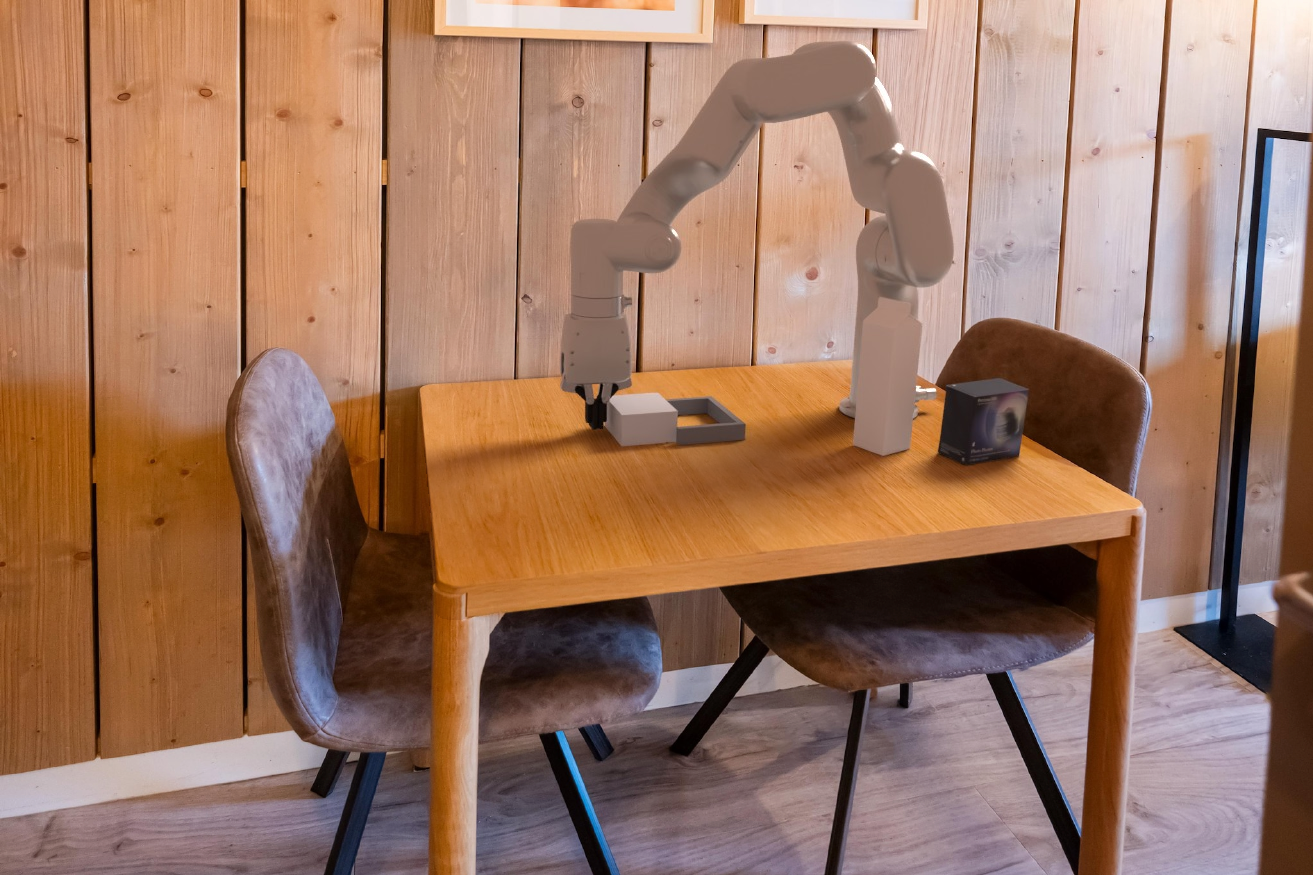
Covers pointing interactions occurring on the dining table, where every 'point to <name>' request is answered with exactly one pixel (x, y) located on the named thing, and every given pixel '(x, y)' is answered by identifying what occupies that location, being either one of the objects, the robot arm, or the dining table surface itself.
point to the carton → (641, 419)
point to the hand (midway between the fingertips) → (595, 426)
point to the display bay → (724, 431)
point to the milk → (887, 378)
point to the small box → (983, 421)
